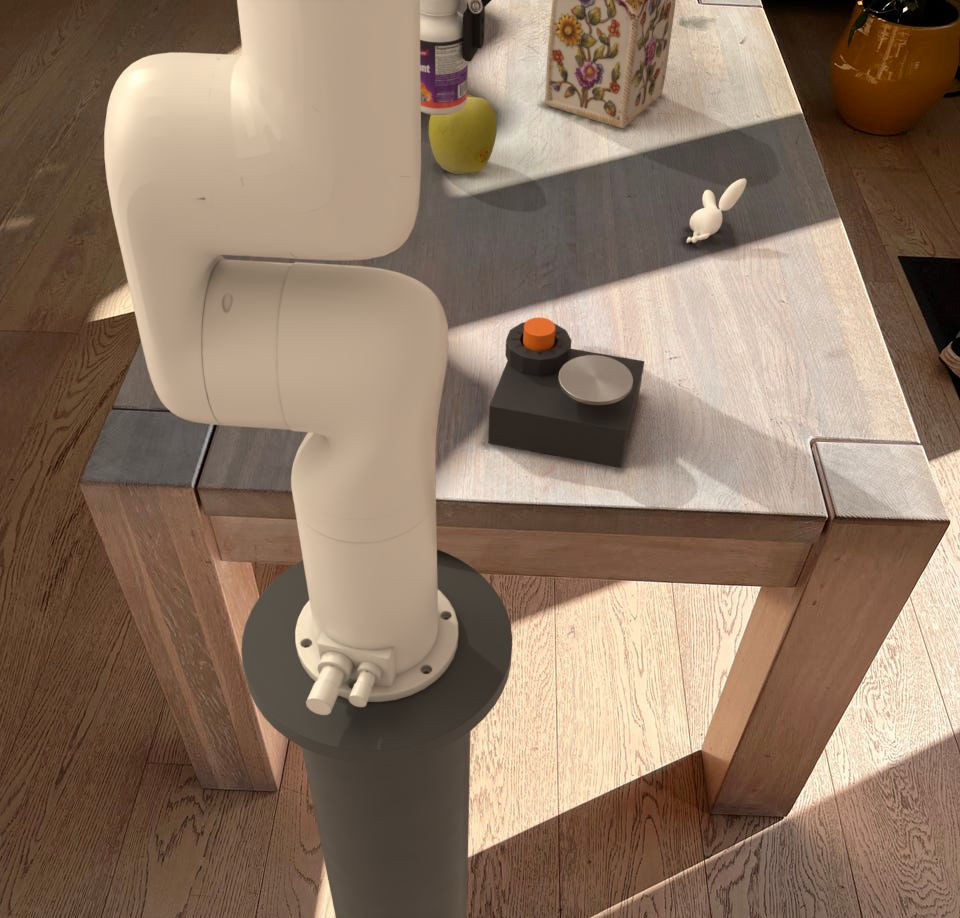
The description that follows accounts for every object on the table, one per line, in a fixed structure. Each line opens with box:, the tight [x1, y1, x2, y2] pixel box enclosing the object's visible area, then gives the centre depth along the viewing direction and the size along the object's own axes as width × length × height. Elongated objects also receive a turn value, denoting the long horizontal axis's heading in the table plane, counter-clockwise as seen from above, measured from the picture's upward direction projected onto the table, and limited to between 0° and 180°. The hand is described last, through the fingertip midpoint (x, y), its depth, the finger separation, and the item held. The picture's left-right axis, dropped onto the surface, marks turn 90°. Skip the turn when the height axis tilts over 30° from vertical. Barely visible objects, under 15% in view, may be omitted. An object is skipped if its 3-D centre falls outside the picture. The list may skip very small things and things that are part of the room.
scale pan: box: [558, 355, 633, 405], centre depth 93 cm, size 6×6×1 cm
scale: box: [487, 321, 645, 468], centre depth 97 cm, size 11×12×6 cm
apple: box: [428, 93, 498, 175], centre depth 124 cm, size 8×8×10 cm
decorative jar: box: [544, 0, 677, 129], centre depth 132 cm, size 12×12×18 cm
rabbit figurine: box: [686, 177, 748, 244], centre depth 118 cm, size 6×4×8 cm
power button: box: [523, 316, 556, 352], centre depth 97 cm, size 3×3×2 cm
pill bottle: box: [420, 0, 469, 116], centre depth 98 cm, size 5×5×10 cm
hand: (438, 48), depth 98 cm, fingers closed on pill bottle, 5 cm apart
